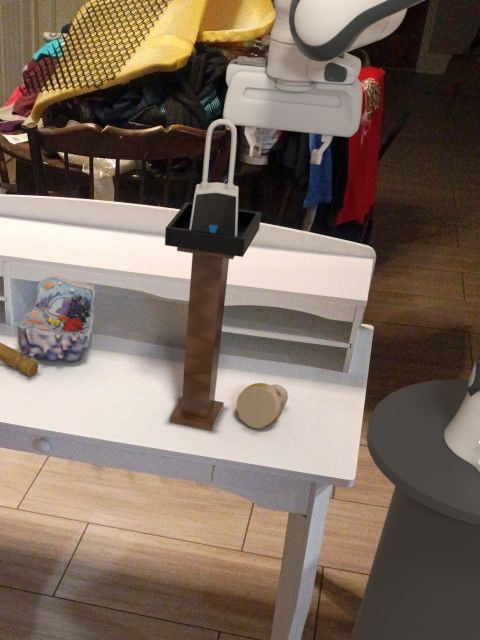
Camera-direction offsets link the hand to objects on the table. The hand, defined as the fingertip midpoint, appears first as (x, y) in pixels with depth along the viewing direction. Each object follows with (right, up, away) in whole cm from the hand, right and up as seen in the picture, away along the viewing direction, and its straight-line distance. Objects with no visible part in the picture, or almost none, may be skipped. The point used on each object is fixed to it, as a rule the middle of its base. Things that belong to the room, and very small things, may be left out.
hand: (284, 159), depth 132 cm
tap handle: (-40, -30, +16) cm, 52 cm away
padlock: (-13, -15, -12) cm, 23 cm away
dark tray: (-13, -16, -12) cm, 24 cm away
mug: (-2, -39, +7) cm, 40 cm away
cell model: (-35, -14, +29) cm, 47 cm away
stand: (-13, -39, +7) cm, 41 cm away
